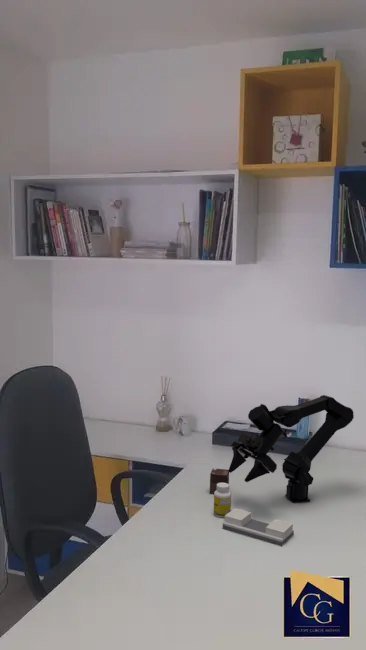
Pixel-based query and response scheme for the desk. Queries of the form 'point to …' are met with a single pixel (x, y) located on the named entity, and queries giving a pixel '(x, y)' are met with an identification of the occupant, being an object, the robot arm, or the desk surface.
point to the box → (218, 478)
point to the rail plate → (258, 527)
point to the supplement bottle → (222, 500)
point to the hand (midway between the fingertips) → (237, 476)
